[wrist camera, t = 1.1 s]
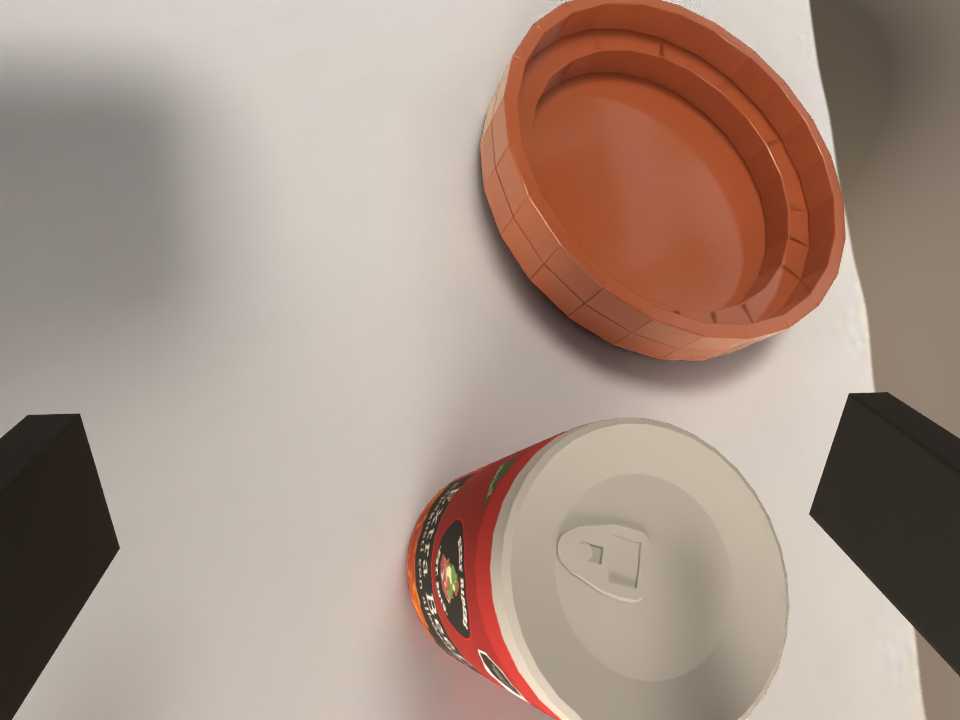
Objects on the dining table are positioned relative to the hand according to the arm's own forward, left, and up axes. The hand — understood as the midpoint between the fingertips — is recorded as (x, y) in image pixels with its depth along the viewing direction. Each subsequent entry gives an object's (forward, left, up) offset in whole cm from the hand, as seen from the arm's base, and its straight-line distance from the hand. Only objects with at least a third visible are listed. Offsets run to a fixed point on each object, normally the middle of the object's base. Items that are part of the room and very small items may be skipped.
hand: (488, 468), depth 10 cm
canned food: (+4, +3, -14) cm, 15 cm away
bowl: (-7, +21, -14) cm, 26 cm away
